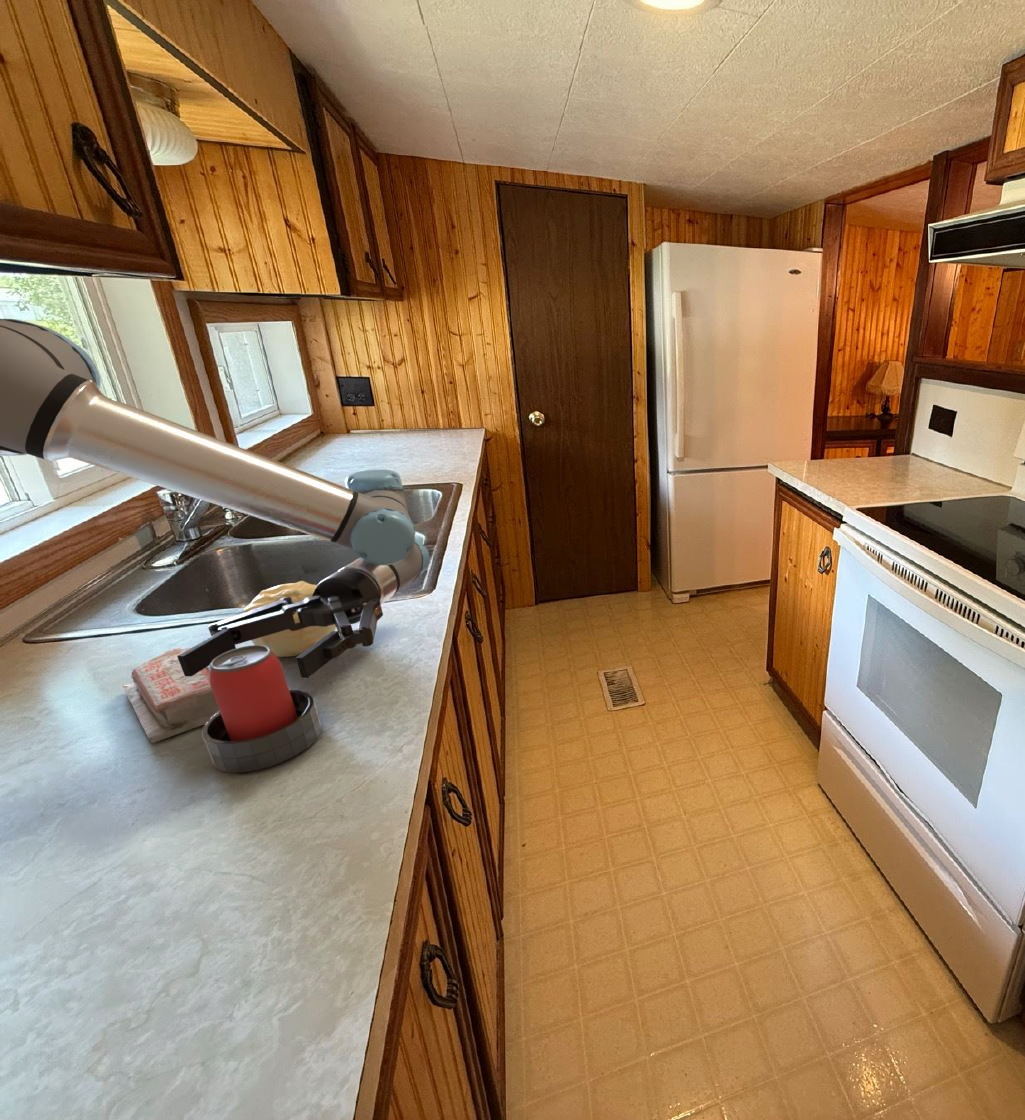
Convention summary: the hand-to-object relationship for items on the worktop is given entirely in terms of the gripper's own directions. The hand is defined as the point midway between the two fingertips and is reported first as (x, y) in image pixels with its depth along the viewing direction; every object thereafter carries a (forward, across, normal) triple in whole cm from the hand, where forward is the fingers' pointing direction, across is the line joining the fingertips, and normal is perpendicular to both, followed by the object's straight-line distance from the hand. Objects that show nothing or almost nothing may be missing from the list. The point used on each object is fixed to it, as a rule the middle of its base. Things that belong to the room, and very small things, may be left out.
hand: (242, 667), depth 69 cm
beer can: (0, 0, -11) cm, 11 cm away
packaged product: (-9, +18, -11) cm, 23 cm away
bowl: (0, 0, -11) cm, 11 cm away
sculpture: (-24, +13, -11) cm, 30 cm away
